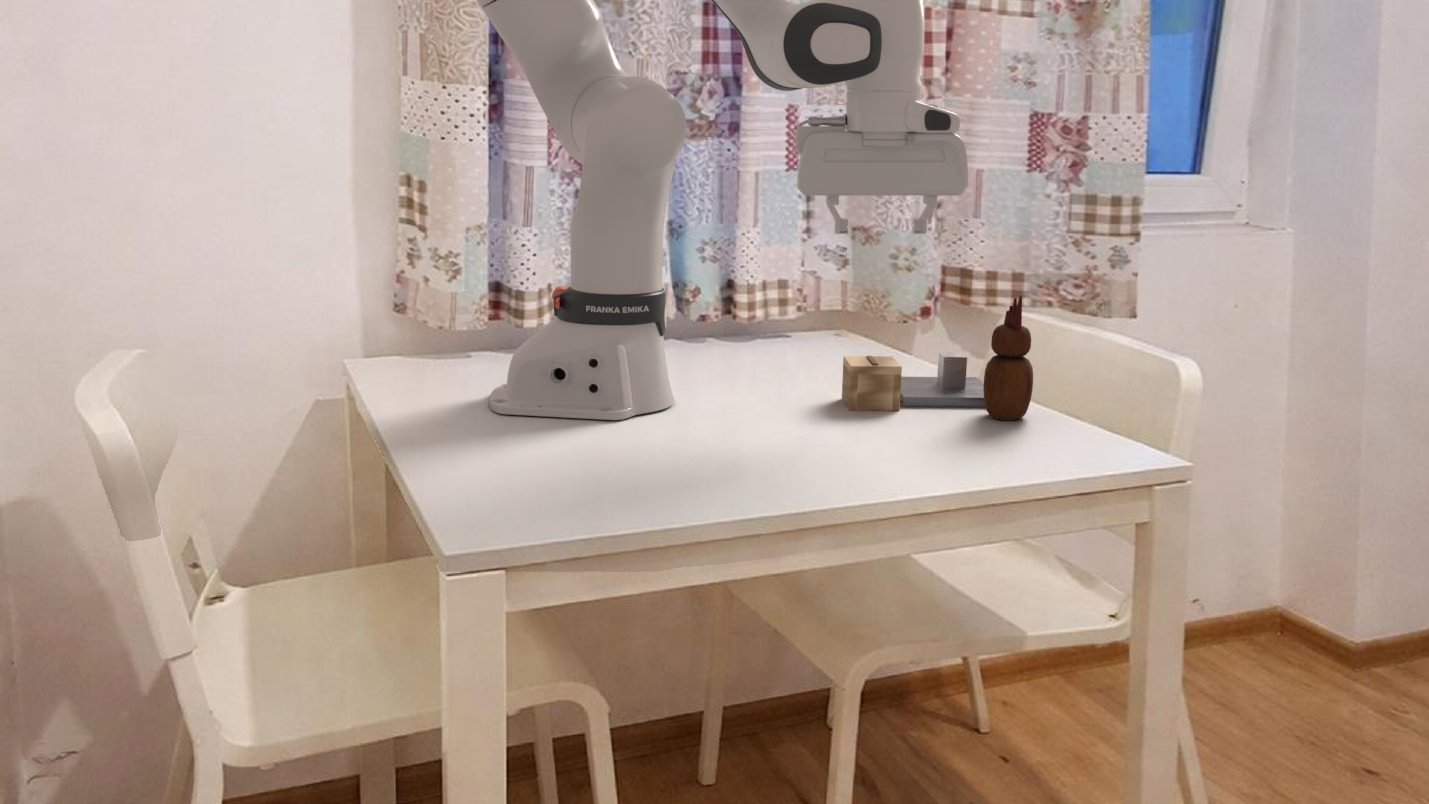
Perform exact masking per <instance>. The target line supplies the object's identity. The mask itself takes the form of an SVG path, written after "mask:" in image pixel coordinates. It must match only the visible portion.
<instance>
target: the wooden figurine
mask: <svg viewBox="0 0 1429 804" xmlns="http://www.w3.org/2000/svg"><path fill="white" fill-rule="evenodd" d="M1022 314H1023V296H1022V295H1020V296H1019V298H1018V300H1017V297H1014V298H1013V303H1012V305H1009V309H1008V310H1006V312H1005V317H1004V322H1003V324H1000V325H998V326H996V327H995V329H993V332H992V335H991V340H990V341H991V342H990V343H991V344H990V346H991V347H990V348H991V350H992V351H993V352H994V353H995V354H996V355H994V356H992V357H991V358H990V359H989V360H988V362H987V363H986V367H985V369H984V376H983V384H984V386H983V389H984V400H985V406H986V407H985V409H986V410H985V411H986V412H987V413H988V415H989V416H990V417H992V418H995V419H998V420H1002V421H1015V420H1019V419H1021V418H1023V417H1024V416H1025V415H1026V414H1027V412H1028V410H1029V406H1030V403H1031V399H1032V394H1033V390H1034V370H1033V366H1032V363H1031V362H1030V360H1029V359H1028V357H1027V358H1026V355H1027V354H1029V352H1030V350H1031V347H1032V336H1031V334H1032V333H1031V331H1030V330H1029V328H1028V327H1026V326H1023V324H1022V320H1023V318H1022V317H1023V315H1022Z"/></svg>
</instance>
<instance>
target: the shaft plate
mask: <svg viewBox="0 0 1429 804" xmlns="http://www.w3.org/2000/svg"><path fill="white" fill-rule="evenodd" d="M967 365H968V356H966V355H965V353H963V352H947V351H946V352H941V351H940V352H938V361H937V376H901V391H900V405H901V406H903V408H904V407H908V408H909V407H915V408H916V407H918V408H919V407H923V408H927V407H930V408H931V407H932V408H935V407H937V408H938V407H939V408H941V407H942V408H986V406H985V400H984V389H983V386H984V382H982V381H981V380H980V379H979V378H977V376H967V370H968V369H967V368H968V367H967Z"/></svg>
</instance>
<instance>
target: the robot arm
mask: <svg viewBox="0 0 1429 804" xmlns="http://www.w3.org/2000/svg"><path fill="white" fill-rule="evenodd" d="M711 1H712V3H713V4H714V5H715V7H716V8H717V9H718V10H719V11H720V12H721V13H722V15H723V16H724V17H725V18H726V19H727V21H728V22H729V23H730V24H731V26H732V27H733V28H734V29H735V31H736V33H737V35H738V36H739V38H740V41H741V43H742V46H743V49H744V51H745V55H746V58H747V59H748V63H749V65H750V66H751V69H752V71H753V72H754V74H755V75H756V76H757V77H758V79H759V80H761V82H763V83H764V84H765V85H766V86H769V88H773V89H775V90H778V91H782V92H784V91H785V92H794V91H797V90H802V89H814V88H815V89H816V88H826V87H830V86H833V85H835V84H836V85H837V84H838V83H843V82H844V83H845V84H846V111H845V113H846V114H845V115H843V116H842V115H837V116H836V115H834V116H824V117H823V116H822V117H821V116H809V117H808V119H805V120H803V121H802V122H800V123H799V124H798V126H797V127H796V129H795V135H794V137H795V143H794V144H795V148H796V150H797V152H798V153H799V160H798V168H797V180H796V182H797V183H796V188H797V190H798V191H799V192H800V193H801V194H802V195H803V196H808V197H809V196H813V197H814V196H817V197H819V196H825V204H826V207H827V209H829V212H830V213H831V215H832V217H833V219H834V234H835V235H847V234H849V228H848V226H849V218H848V217H841V216H840V214H839V212H838V210H837V209H836V206H839V204H840V196H844V197H845V196H846V197H847V196H850V197H851V196H852V197H853V196H859V197H860V196H862V197H863V196H867V197H868V196H869V197H870V196H873V197H874V196H877V197H878V196H881V197H882V196H887V197H888V196H890V197H891V196H899V197H900V196H902V197H904V196H909V197H910V196H912V197H913V196H922V203H923V205H926V206H925V207H924V209H923V211H922V213H921V214H920V216H919V217H912V225H913V226H912V234H915V235H926V234H927V231H928V229H927V228H928V220H929V219H930V217H931V215H932V213H933V212H934V211H935V209H936V207H937V205H938V196H942V197H943V196H946V197H947V196H949V197H950V196H951V197H952V196H962V195H963V194H964V193H965V191H966V190H967V189H968V187H969V166H968V155H967V149H966V148H967V147H966V145H965V142H964V140H963V139H962V138H961V136H960V135H958V134H956V132H958V131H959V129H960V128H961V127H960V126H961V117H960V115H959V114H957V113H955V112H952V111H950V110H947V109H943V108H941V107H940V108H939V107H938V105H935V104H930V103H929V104H927V103H925V102H924V101H923V84H922V80H921V73H920V69H921V68H920V67H921V62H922V59H923V56H924V50H925V47H924V46H925V21H924V20H925V18H924V17H925V15H924V4H923V0H810V1H807V2H802V3H799V4H798V3H794V2H791V1H789V0H711ZM476 2H477V4H478V5H479V7H480V8H481V10H482V11H483V12H484V14H485V15H486V17H487V18H488V20H489V22H490V23H491V25H492V27H494V29H495V31H496V32H497V33H498V35H499V36H500V38H501V40H502V41H503V42H504V44H505V45H506V47H507V49H508V50H509V52H510V53H511V54H512V56H513V57H514V58H515V60H516V62H517V63H518V64H519V66H520V68H521V70H522V72H523V74H524V76H525V77H526V79H527V81H528V83H529V85H530V87H531V89H532V91H533V93H534V95H535V97H536V100H537V102H538V103H539V105H540V107H541V109H542V111H543V114H544V115H545V117H546V118H547V120H548V122H549V123H550V125H551V128H552V129H553V130H554V133H555V135H556V137H557V140H558V141H559V143H560V145H561V146H562V147H563V149H564V150H565V151H566V153H567V154H568V155H569V156H570V157H571V158H572V159H573V160H575V161H576V162H577V163H579V164H581V165H582V171H581V178H580V183H579V184H580V185H579V190H578V196H577V202H576V206H575V210H574V213H573V215H572V218H571V221H570V225H569V227H570V237H569V238H570V286H569V287H565V286H561V285H560V286H556V287H555V288H554V290H553V291H552V294H551V299H552V301H553V316H554V317H556V318H554V319H553V320H551V321H550V322H548V323H547V324H546V325H545V326H544V327H542V328H540V330H538V331H537V332H536V333H535V334H533V335H532V336H531V337H529V338H528V339H527V340H526V341H524V342H523V343H522V344H521V345H520V346H519V347H517V348H516V350H515V352H514V353H513V354H512V358H511V360H510V363H509V366H508V371H507V380H506V383H504V384H501V385H499V386H497V387H496V388H494V389H493V390H492V391H491V393H490V395H489V403H488V405H489V408H490V409H491V410H492V411H493V412H495V413H497V414H501V415H514V416H531V417H532V416H533V417H548V418H549V417H550V418H551V417H553V418H569V419H571V418H572V419H588V420H606V421H620V420H625V419H628V418H632V417H634V416H636V415H642V414H648V413H654V412H657V411H658V412H659V411H661V410H664V409H667V408H669V407H671V406H672V405H673V404H675V398H674V394H673V389H672V388H671V383H670V378H669V373H668V372H669V371H668V367H667V366H668V365H667V361H666V360H667V358H666V353H665V352H666V350H665V342H664V340H665V339H664V335H665V334H666V329H667V320H668V319H667V317H668V315H667V311H668V306H667V305H668V300H667V295H666V289H665V287H663V269H664V268H663V262H664V261H663V259H664V257H663V253H664V252H663V251H664V250H663V249H664V223H665V217H666V216H665V215H666V210H667V206H668V205H667V204H668V199H669V195H670V190H671V185H672V179H673V174H674V170H675V165H676V160H677V157H678V155H679V153H680V152H681V150H682V149H683V146H684V144H685V141H686V136H687V119H686V114H685V111H684V110H683V107H682V105H681V104H680V102H679V100H678V99H677V98H676V97H675V95H673V94H672V93H671V92H669V91H668V90H667V89H666V88H665V87H664V86H661V84H660V83H659V84H658V82H656V81H654V80H652V79H649V78H646V77H642V76H629V75H628V74H627V72H625V70H624V69H623V67H622V65H621V63H620V62H619V60H618V57H617V56H616V53H615V50H614V49H613V45H612V44H611V41H610V37H609V36H608V34H607V31H606V28H605V24H604V19H603V15H602V12H601V9H600V8H599V6H598V5H597V3H596V1H594V0H476ZM923 102H924V103H923ZM807 124H808V125H807Z"/></svg>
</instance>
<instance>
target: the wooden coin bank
mask: <svg viewBox="0 0 1429 804" xmlns="http://www.w3.org/2000/svg"><path fill="white" fill-rule="evenodd" d="M842 357H843V361H842V363H843V364H842V382H841V383H842V385H841V386H842V387H841V399H842V401H843V403H844V405H845V406H846V408H847V409H848V411H887V412H889V411H891V412H892V411H900V408H901V407H900V405H901V403H900V391H901V377H902V371H903V367H902V365H901V364H900V363H899V362H898V361H897V359H895V357H894V356H884V355H883V356H881V355H880V356H878V355H877V356H876V355H873V356H872V355H864V356H863V355H856V356H855V355H843V356H842Z"/></svg>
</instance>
